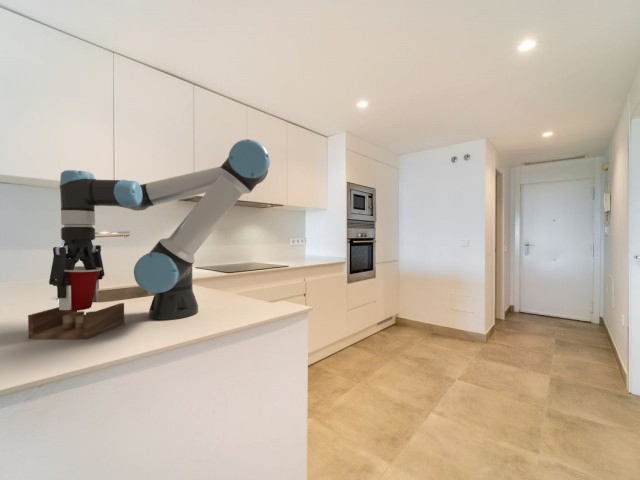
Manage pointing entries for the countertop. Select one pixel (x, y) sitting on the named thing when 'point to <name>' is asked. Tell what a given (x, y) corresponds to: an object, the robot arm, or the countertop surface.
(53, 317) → the peg board
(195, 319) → the countertop surface
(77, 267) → the plastic cup
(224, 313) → the countertop surface
